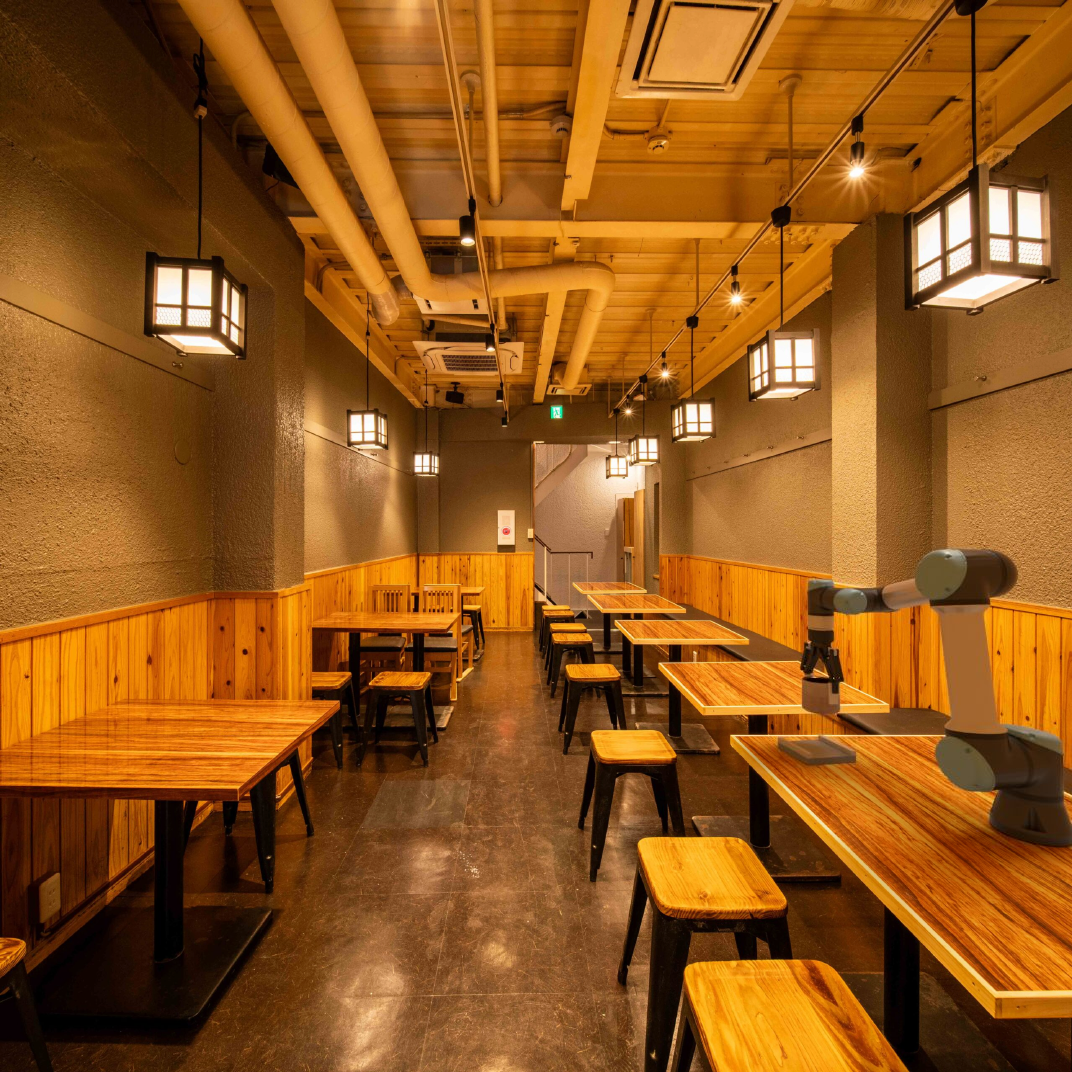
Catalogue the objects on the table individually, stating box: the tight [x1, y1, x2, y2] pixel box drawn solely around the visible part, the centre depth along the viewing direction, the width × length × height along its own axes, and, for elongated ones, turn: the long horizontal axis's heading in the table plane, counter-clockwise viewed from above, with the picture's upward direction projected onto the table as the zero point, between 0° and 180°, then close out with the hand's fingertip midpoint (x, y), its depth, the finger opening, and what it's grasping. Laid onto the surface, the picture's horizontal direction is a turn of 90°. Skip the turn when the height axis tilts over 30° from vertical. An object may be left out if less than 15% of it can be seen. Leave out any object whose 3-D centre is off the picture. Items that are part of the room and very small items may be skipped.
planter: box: [801, 675, 841, 716], centre depth 186 cm, size 11×11×10 cm
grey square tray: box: [777, 734, 857, 766], centre depth 186 cm, size 16×16×3 cm
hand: (821, 699), depth 186 cm, fingers closed on planter, 11 cm apart
